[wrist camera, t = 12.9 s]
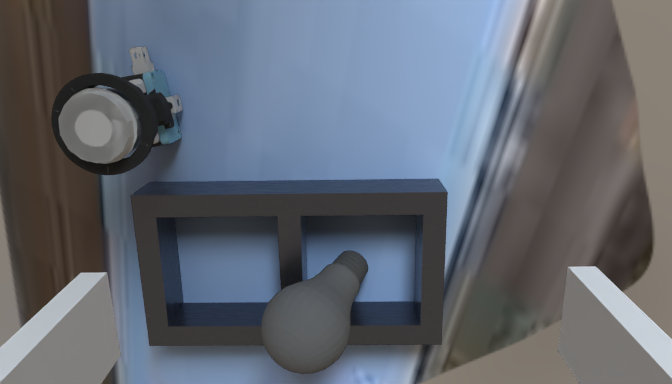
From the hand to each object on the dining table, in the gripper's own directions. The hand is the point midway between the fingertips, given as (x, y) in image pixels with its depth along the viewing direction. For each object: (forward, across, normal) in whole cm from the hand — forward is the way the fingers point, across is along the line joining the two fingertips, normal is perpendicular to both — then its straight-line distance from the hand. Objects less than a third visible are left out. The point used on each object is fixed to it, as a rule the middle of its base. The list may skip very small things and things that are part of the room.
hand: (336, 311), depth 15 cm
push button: (+23, -12, +4) cm, 26 cm away
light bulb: (+22, +1, -8) cm, 23 cm away
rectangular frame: (+22, -4, -8) cm, 24 cm away
